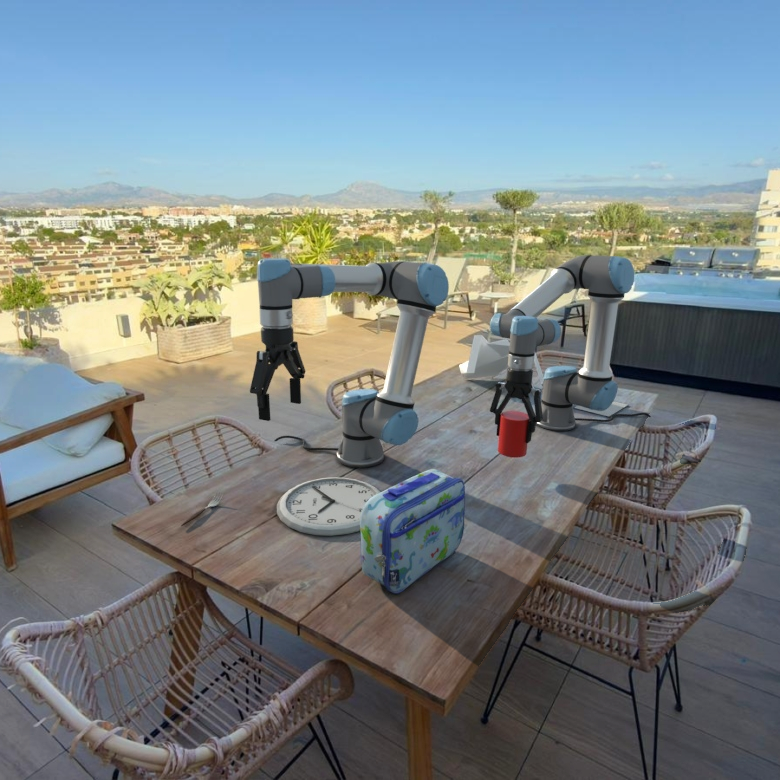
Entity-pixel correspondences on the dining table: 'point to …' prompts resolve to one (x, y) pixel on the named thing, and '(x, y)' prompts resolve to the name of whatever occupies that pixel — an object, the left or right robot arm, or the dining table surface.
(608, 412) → the invitation card
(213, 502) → the fork
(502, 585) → the dining table surface
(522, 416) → the tin
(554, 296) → the right robot arm
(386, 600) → the dining table surface
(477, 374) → the white plastic object
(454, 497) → the lunch box
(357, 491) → the wall clock
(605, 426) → the dining table surface
